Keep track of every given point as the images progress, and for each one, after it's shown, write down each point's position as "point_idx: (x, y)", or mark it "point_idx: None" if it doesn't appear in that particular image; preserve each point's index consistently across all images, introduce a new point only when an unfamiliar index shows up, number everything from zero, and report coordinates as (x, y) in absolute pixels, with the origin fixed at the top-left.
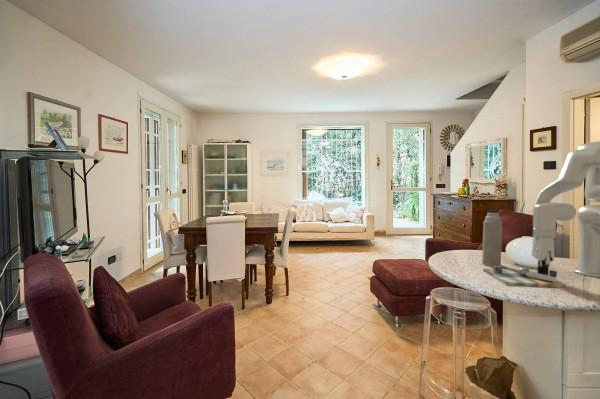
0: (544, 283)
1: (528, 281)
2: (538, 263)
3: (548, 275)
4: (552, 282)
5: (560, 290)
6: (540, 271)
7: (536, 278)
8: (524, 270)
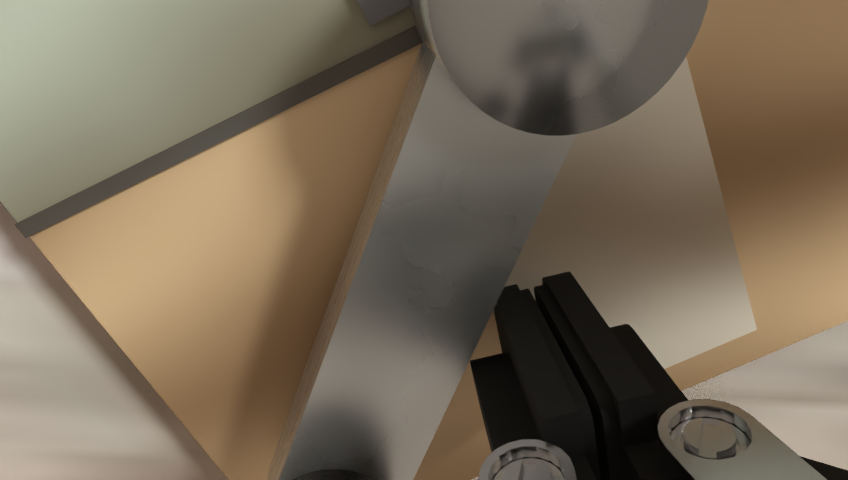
0: (117, 322)
1: (31, 58)
2: (694, 458)
3: (312, 460)
4: None
5: (74, 461)
6: (512, 361)
7: None
8: (423, 3)
